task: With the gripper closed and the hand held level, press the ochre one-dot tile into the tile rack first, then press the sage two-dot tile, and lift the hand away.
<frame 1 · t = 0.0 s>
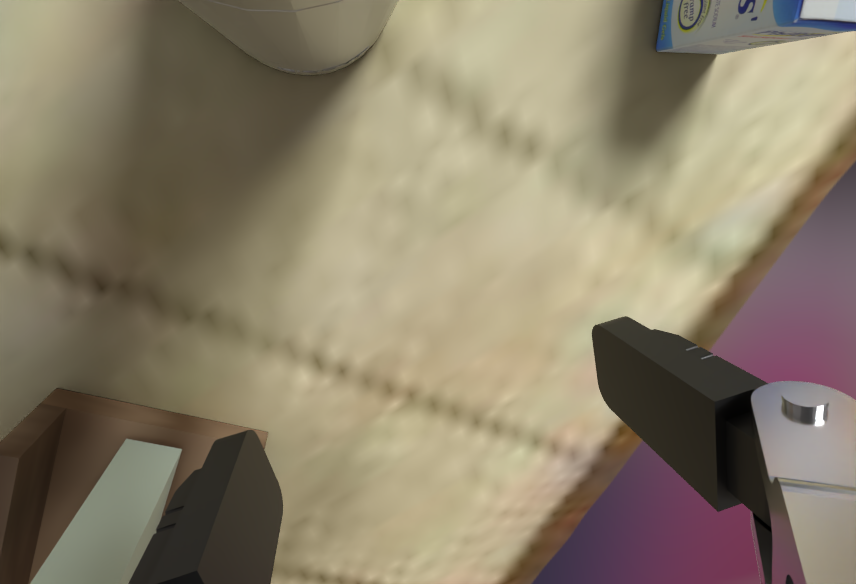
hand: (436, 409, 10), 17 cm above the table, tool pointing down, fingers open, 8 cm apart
tile rack: (127, 555, 31), on the table
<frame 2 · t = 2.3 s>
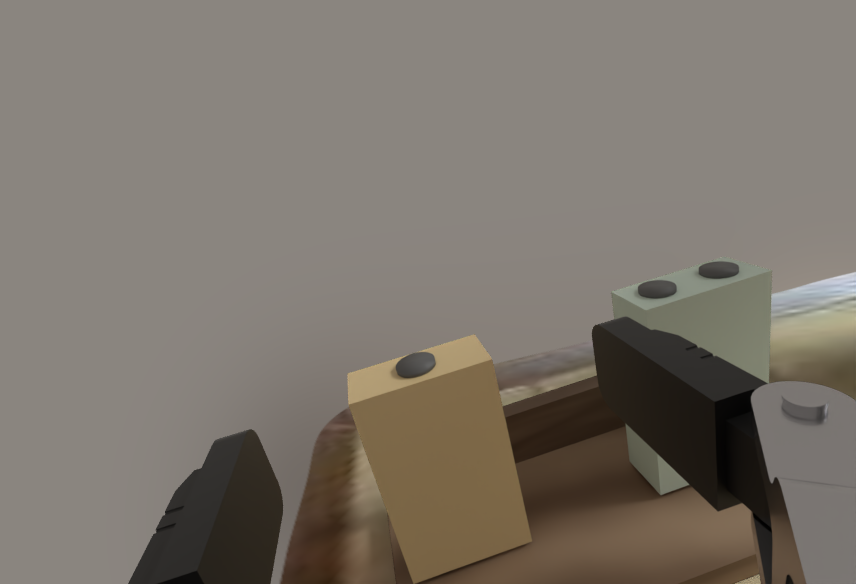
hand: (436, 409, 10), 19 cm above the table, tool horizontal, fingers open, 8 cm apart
tile rack: (587, 520, 28), on the table
tile two: (692, 375, 26), point 8 cm above the table, slide at 0.0 cm
tile one: (443, 459, 24), point 8 cm above the table, slide at 0.0 cm
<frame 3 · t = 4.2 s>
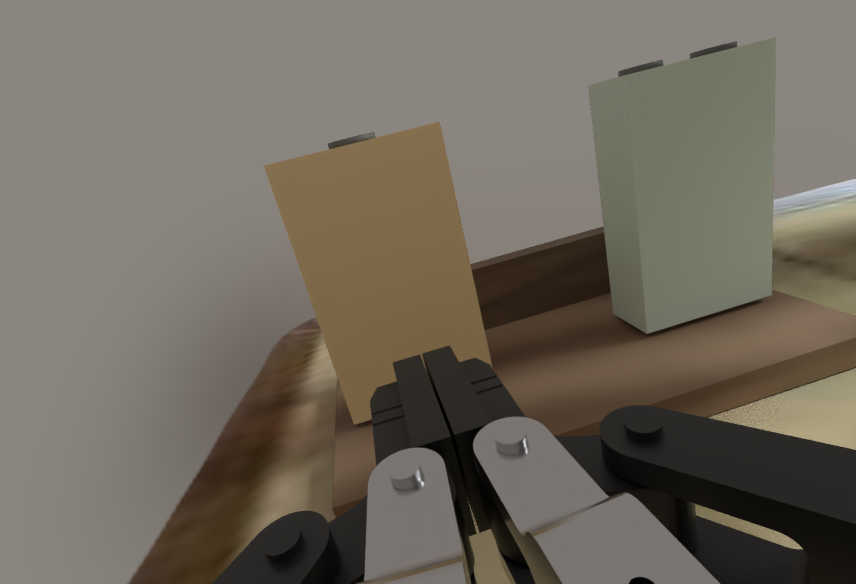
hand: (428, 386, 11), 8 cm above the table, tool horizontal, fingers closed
tile rack: (563, 374, 24), on the table
tile two: (683, 191, 22), point 8 cm above the table, slide at 0.0 cm
tile one: (389, 274, 21), point 8 cm above the table, slide at 0.0 cm
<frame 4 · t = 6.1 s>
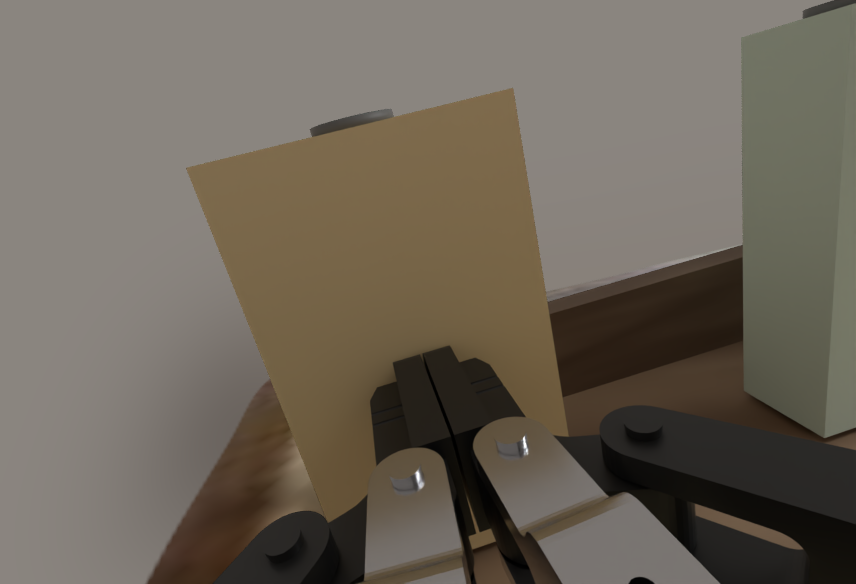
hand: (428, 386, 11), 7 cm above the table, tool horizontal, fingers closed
tile rack: (677, 489, 16), on the table
tile one: (413, 346, 13), point 8 cm above the table, slide at 0.3 cm, touching gripper
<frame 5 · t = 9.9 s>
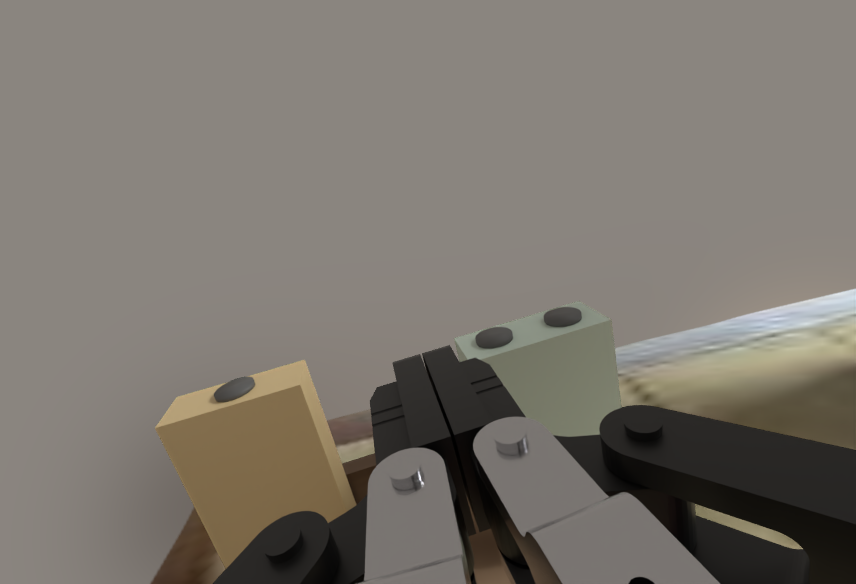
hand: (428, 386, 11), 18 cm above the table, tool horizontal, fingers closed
tile two: (546, 428, 24), point 8 cm above the table, slide at 0.0 cm
tile one: (273, 481, 25), point 8 cm above the table, slide at 3.0 cm
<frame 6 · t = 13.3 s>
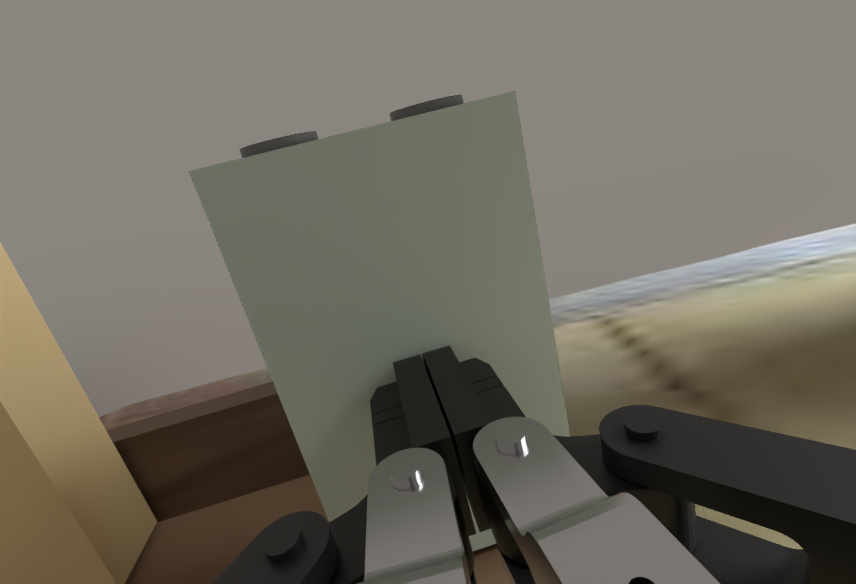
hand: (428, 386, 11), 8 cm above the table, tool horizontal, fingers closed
tile two: (415, 348, 13), point 8 cm above the table, slide at 0.0 cm, touching gripper
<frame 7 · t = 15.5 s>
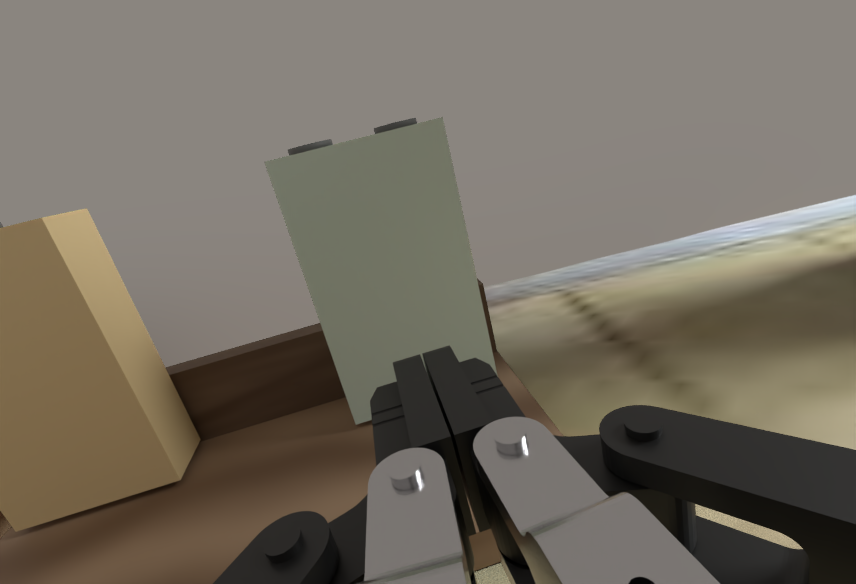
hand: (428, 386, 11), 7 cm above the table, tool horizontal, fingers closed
tile rack: (278, 506, 19), on the table
tile two: (391, 272, 20), point 8 cm above the table, slide at 3.0 cm
tile one: (49, 369, 19), point 8 cm above the table, slide at 3.0 cm
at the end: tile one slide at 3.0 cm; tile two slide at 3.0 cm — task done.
